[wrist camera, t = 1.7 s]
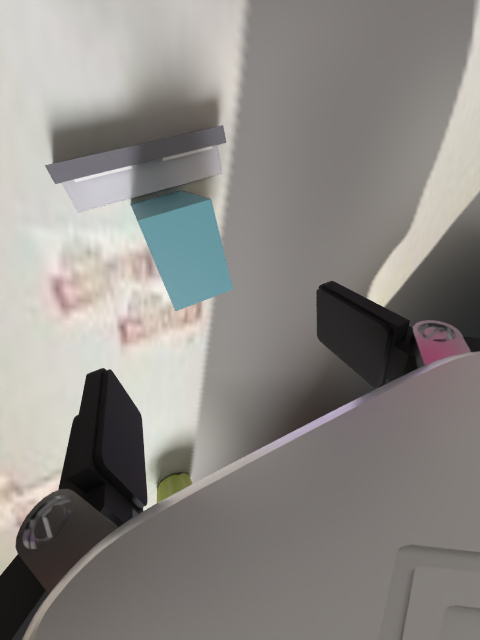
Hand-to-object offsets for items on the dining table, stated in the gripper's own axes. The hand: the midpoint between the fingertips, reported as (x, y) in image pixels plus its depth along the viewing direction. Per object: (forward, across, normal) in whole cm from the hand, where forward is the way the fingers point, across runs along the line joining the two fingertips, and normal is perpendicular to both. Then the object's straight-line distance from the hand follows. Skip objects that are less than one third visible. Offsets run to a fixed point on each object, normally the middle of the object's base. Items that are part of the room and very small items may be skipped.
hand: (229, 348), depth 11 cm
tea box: (+20, -1, -1) cm, 20 cm away
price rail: (+20, 0, -7) cm, 21 cm away
